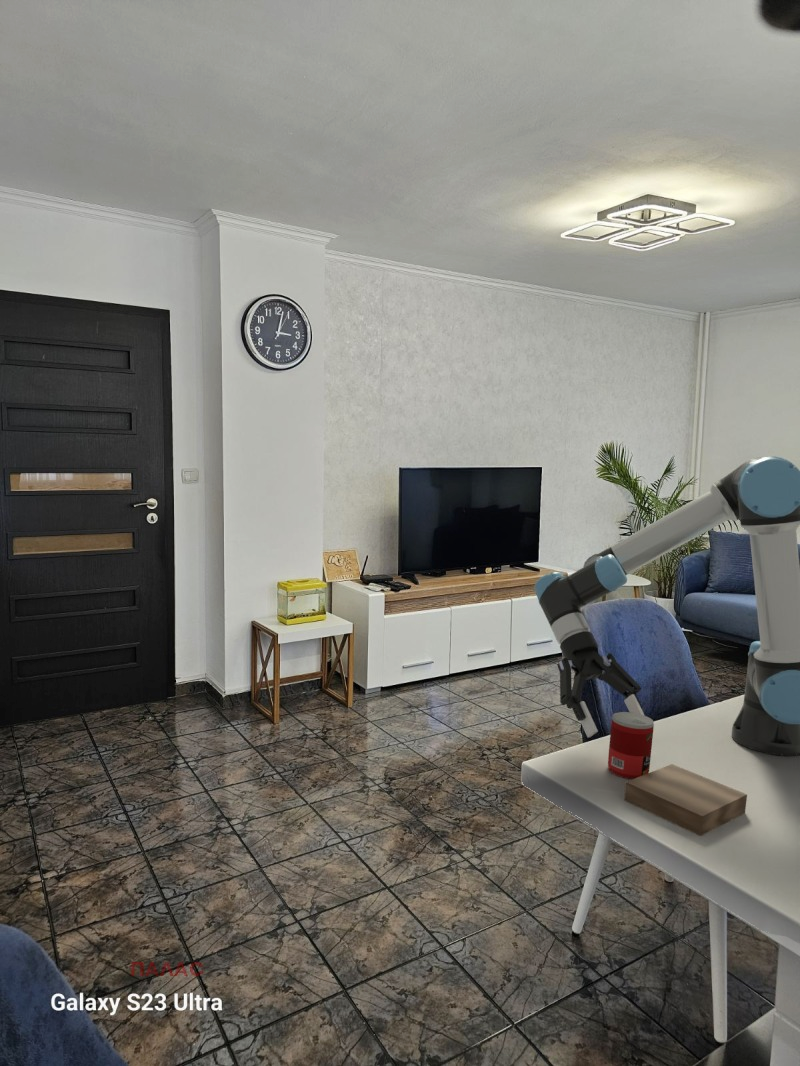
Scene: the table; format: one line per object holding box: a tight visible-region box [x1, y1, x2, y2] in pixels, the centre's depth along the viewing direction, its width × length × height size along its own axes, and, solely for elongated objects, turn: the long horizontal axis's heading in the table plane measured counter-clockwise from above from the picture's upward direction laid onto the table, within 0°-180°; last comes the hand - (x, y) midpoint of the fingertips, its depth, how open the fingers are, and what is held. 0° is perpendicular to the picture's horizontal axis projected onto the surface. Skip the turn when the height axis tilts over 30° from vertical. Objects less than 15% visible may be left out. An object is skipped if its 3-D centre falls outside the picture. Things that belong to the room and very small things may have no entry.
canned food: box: [607, 711, 655, 780], centre depth 150 cm, size 8×8×11 cm
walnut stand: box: [623, 764, 748, 837], centre depth 136 cm, size 15×15×4 cm
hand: (618, 730), depth 151 cm, fingers open, 13 cm apart
